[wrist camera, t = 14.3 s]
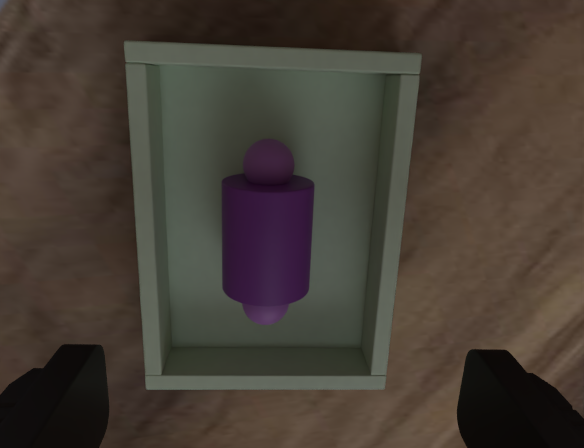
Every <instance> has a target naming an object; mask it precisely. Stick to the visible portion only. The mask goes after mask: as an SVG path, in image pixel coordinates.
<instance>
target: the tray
mask: <svg viewBox="0 0 584 448" xmlns="http://www.w3.org/2000/svg"><path fill="white" fill-rule="evenodd" d="M124 54H125V61H126V62H127V63H126V64H125V70H126V85H127V101H128V116H129V132H130V147H131V163H132V178H133V194H134V209H135V224H136V240H137V255H138V271H139V286H140V302H141V317H142V333H143V348H144V364H145V374H146V375H145V383H146V389H147V390H212V389H385V383H386V372H387V363H388V354H389V345H390V336H391V328H392V319H393V310H394V301H395V292H396V283H397V274H398V265H399V256H400V248H401V239H402V230H403V221H404V212H405V203H406V194H407V185H408V176H409V168H410V159H411V150H412V141H413V132H414V123H415V114H416V105H417V96H418V88H419V79H420V76H419V75H418V74H419V73H420V70H421V61H422V54H421V53H405V52H382V51H358V50H335V49H312V48H289V47H266V46H243V45H220V44H197V43H174V42H151V41H128V40H126V41H124ZM262 139H275V140H278V141H280V142H282V143H284V144H285V145H286V146H287V147H288V148H289V149H290V151H291V153H292V155H293V158H294V165H295V166H294V172H293V175H297V176H302V177H305V178H308V179H310V180H312V181H313V182H314V184H315V189H314V208H313V227H312V246H311V265H310V284H309V291H308V293H307V294H306V296H305V297H303V298H302V299H300V300H298V301H296V302H294V303H290V304H289V307H288V310H287V312H286V314H285V315H284V316H283V318H282V319H280V320H279V321H278V322H276V323H273V324H270V325H261V324H257V323H255V322H253V321H252V320H250V319H249V318H248V317H247V315H246V314H245V312H244V310H243V306H242V303H240V302H237V301H235V300H233V299H231V298H229V297H228V296H227V295H226V294H225V293H224V291H223V289H222V187H221V182H222V180H223V179H224V178H226V177H228V176H231V175H236V174H242V173H244V170H243V159H244V155H245V153H246V151H247V150H248V148H249V147H250V146H251V145H252V144H253V143H255V142H257V141H259V140H262Z"/></svg>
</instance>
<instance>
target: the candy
mask: <svg viewBox="0 0 584 448" xmlns="http://www.w3.org/2000/svg"><path fill="white" fill-rule="evenodd" d="M294 166H295V165H294V158H293V155H292V153H291V151H290V149H289V148H288V147H287V146H286V145H285V144H284V143H282V142H280V141H278V140H275V139H262V140H259V141H257V142H255V143H253V144H252V145H251V146H250V147H249V148H248V150H247V151H246V153H245V155H244V159H243V170H244V173H242V174H236V175H231V176H228V177H226V178H224V179H223V180H222V182H221V187H222V289H223V291H224V293H225V294H226V295H227V296H228V297H229V298H231V299H233V300H235V301H237V302H240V303H242V306H243V310H244V312H245V314H246V315H247V317H248V318H249V319H250V320H252V321H253V322H255V323H257V324H261V325H270V324H273V323H276V322H278V321H279V320H280V319H282V318H283V316H284V315H285V314H286V312H287V310H288V307H289V304H290V303H294V302H296V301H298V300H300V299H302V298H303V297H305V296H306V294H307V293H308V291H309V284H310V265H311V246H312V227H313V208H314V189H315V184H314V182H313V181H312V180H310V179H308V178H305V177H302V176H297V175H293V172H294Z"/></svg>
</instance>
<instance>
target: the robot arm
mask: <svg viewBox="0 0 584 448" xmlns="http://www.w3.org/2000/svg"><path fill="white" fill-rule="evenodd" d="M108 418H109V397H108V387H107V376H106V366H105V355H104V350H103V347H102V346H101V345H86V344H64V345H62V346H61V347H60V348H59V349H58V350H57V352H56V353H55V354H54V355H53V357H52V358H51V359H50V361H49V362H48V363H47V364H46V366H45V367H44V368H33V369H32V370H30V371H29V372H27V373H26V374H24V375H23V376H21V377H20V378H18V379H17V380H15V381H14V382H12V383H10V384H9V385H8V387H7V388H6V389H5V390H4V391H3V392H2V394H1V395H0V448H99V446H100V444H101V442H102V440H103V437H104V435H105V432H106V429H107V424H108ZM457 421H458V426H459V430H460V434H461V436H462V438H463V440H464V442H465V444H466V446H467V448H584V419H583V418H582V416H581V415H580V414H579V413H578V412H577V411H576V410H573V409H572V406H571V404H570V403H569V402H568V401H567V400H566V399H565V398H564V397H563V396H562V395H561V393H560V392H559V391H558V390H557V389H556V388H554V387H553V386H551V385H550V384H548V383H547V382H545V381H544V380H542V379H541V378H539V377H538V376H536V375H535V374H533V373H527V372H526V371H525V370H524V369H523V367H522V366H521V365H520V364H519V363H518V362H517V360H516V359H515V358H514V357H513V356H512V355H511V354H510V353H509V352H508V351H507V350H482V349H472V350H470V351H469V352H468V354H467V356H466V360H465V366H464V372H463V377H462V383H461V389H460V395H459V400H458V406H457Z"/></svg>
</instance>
